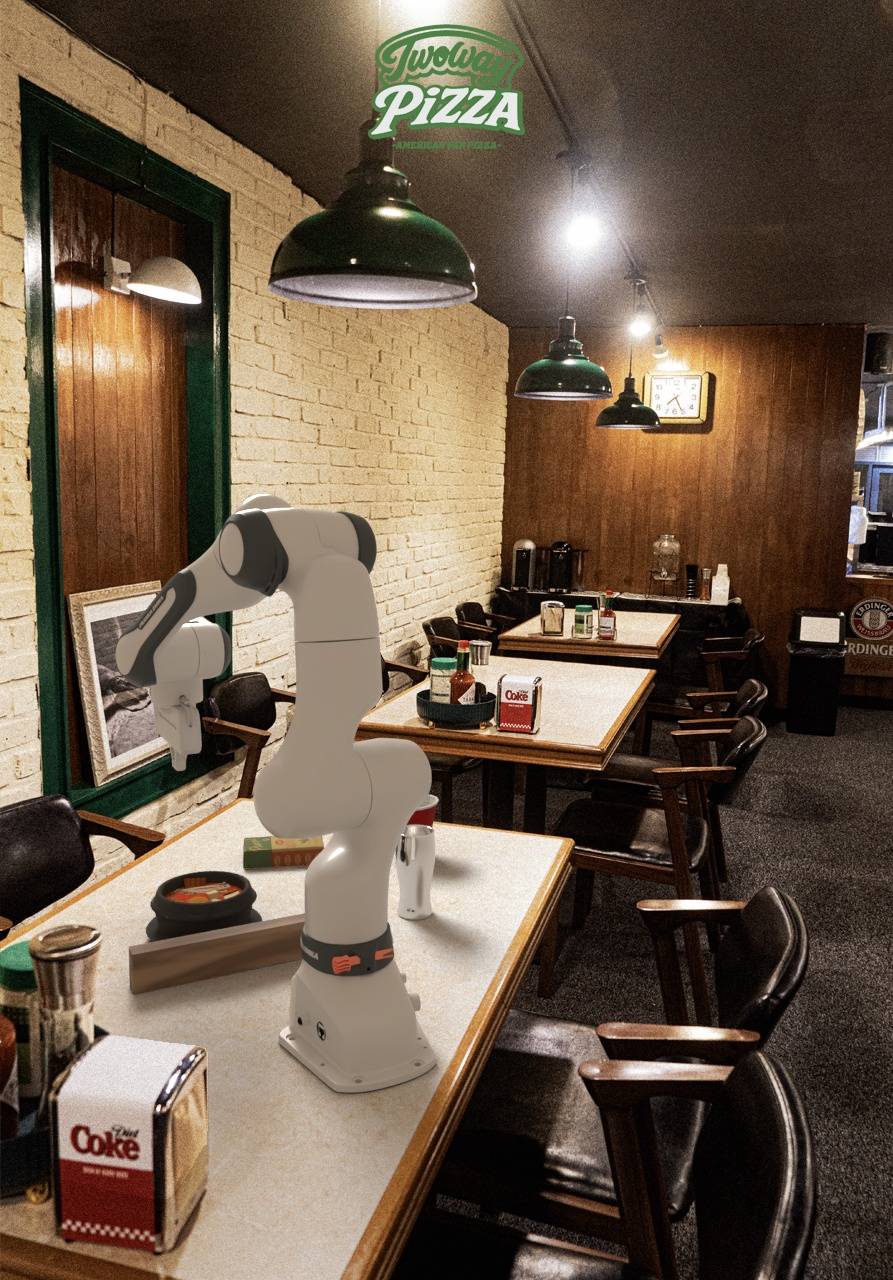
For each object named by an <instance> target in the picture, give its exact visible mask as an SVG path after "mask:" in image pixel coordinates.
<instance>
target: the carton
mask: <svg viewBox="0 0 893 1280" xmlns="http://www.w3.org/2000/svg"><path fill="white" fill-rule="evenodd" d="M323 840H324V839H323V836H319V837H316V838H302V839H281V838H277V837H275V836H273V835H271V836H255V837H253V836H252V837H243V847H242V849H243V851H242V853H243V854H242V867H243V869H244V868H245V870H246V868H250V869H264V868H280V867H281V868H282V867H301V866H309V865H310V864H311V862H312V861H313V860H314V859H315V858H316V857H317V856H318V855H319V854H320V853H321V852H322V850H323V849H324V848H325V845H324V844H325V843H324V841H323Z"/></svg>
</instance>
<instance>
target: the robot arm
mask: <svg viewBox="0 0 893 1280" xmlns="http://www.w3.org/2000/svg"><path fill="white" fill-rule="evenodd" d="M377 550H378V548H377V539H376V536H375V533H374V531H373V529H372V526H371V525H370V523H369V522H368V521H367V520H366V519H365V518H364V517H363V516H361V515H359V514H355V513H351V512H347V511H343V510H337V511H329V510H321V509H309V508H306V509H305V508H303V507H293V506H292V505H291V504H289V503H288V502H287V501H286V500H284V499H282V498H281V497H279V496H276V495H273V494H268V493H266V494H265V493H261V494H255V495H253V496H251V497H248V498H247V499H246V500H244V501H243V502H242V503H241V504H240V505H239V506H238V507H237V509H235V510H234V512H233V513H232V514H231V515H230V516H228V518H227V519H226V520H225V522H224V524H223V525H222V528H221V529H220V531H219V533H218V534H217V537H216V539H215V541H214V542H213V543H212V545H211V546H210V547H209V548H208V549H207V550H206V551H205V552H204V553H203V554H202V555H201V556H200V557H199V558H197V559H196V560H195V561H193V562H192V563H191V564H190V565H189V564H188V566H187V567H185V568H183V569H181V570H180V571H178V572H177V573H176V574H174V575H173V576H171V577H170V579H169V580H168V581H167V582H166V584H165V585H164V586H163V587H162V588H161V590H160V591H159V592H158V593H157V594H156V596H155V597H154V599H152V601H151V602H150V604H149V605H148V607H147V608H146V609H145V611H144V612H143V613H142V614H141V615H140V617H138V619H137V620H136V621H135V622H134V623H132V624H130V625H129V626H128V627H126V629H125V630H124V631H123V632H122V634H121V635H120V636H119V638H118V640H117V642H116V646H115V651H114V659H115V660H114V661H115V666H116V669H117V671H118V673H119V675H120V676H121V677H122V678H124V680H126V681H127V682H129V684H131V685H133V686H135V687H136V688H139V689H141V688H145V687H148V688H149V691H148V692H149V696H150V703H151V704H153V714H154V720H155V727H156V732H157V734H158V735H159V736H160V737H161V738H163V739H164V741H166V742H167V743H168V746H169V751H170V752H169V753H170V755H171V766H172V768H173V769H174V770H175V771H177V772H181V771H182V772H183V771H185V770H186V769H187V758H188V755H193V754H195V755H196V754H200V753H201V751H202V746H203V745H202V743H203V742H202V730H201V729H202V728H201V719H200V718H201V717H200V713H199V710H198V709H197V706H196V705H197V704H198V703H201V702H202V701H203V700H204V687H203V686H204V684H203V683H204V682H203V680H207V679H213V678H217V677H220V676H222V674H223V673H224V672H225V671H226V670H227V669H228V667H229V665H230V663H231V661H232V642H231V637H230V635H229V634H228V632H226V630H225V629H224V628H223V627H222V626H221V625H219V624H218V623H216V622H215V623H213V622H211V621H210V620H208V619H207V618H205V616H210V615H214V614H220V613H226V612H232V611H233V612H234V611H238V610H244V609H248V608H251V607H254V606H255V605H258V604H260V602H262V601H263V600H265V598H267V597H269V598H270V597H272V596H274V594H275V592H276V591H277V590H279V591H282V592H284V593H285V594H286V595H288V597H289V599H290V600H291V602H292V606H293V630H294V631H293V632H294V633H293V634H294V635H293V637H294V650H295V651H294V652H295V676H296V677H295V680H296V682H295V683H296V684H295V685H296V687H295V689H296V690H295V691H296V692H295V704H294V710H293V715H292V718H291V721H290V725H289V727H288V730H287V733H286V735H285V737H284V740H283V742H282V743H281V745H280V747H279V749H278V750H277V752H276V753H275V754H274V755H273V756H272V757H271V759H270V760H269V762H267V763H266V765H264V767H263V768H262V769H261V770H260V771H259V774H258V776H257V777H256V780H255V784H254V788H253V799H252V800H253V806H254V810H255V814H256V816H257V818H258V821H259V822H260V823H261V825H262V826H263V828H264V829H265V830H266V831H267V832H268V833H269V834H271V836H275V837H277V838H281V839H302V838H316V837H319V836H322V837H324V836H326V835H331V834H332V835H331V838H330V839H329V841H328V843H327V844H326V846H324V849H323V850H322V852H321V853H320V854H319V855H318V856H317V857H316V858H315V859H314V860H313V861H312V862H311V864H310V865H308V867H307V870H306V872H305V876H304V913H305V924H304V926H303V927H302V935H301V955H302V957H303V959H301V962H300V964H299V967H298V969H297V970H296V971H295V973H294V974H293V976H292V978H291V981H290V982H291V983H290V997H289V1014H288V1016H289V1017H288V1025H287V1026H284V1028H283V1029H282V1030H280V1032H279V1033H278V1044H280V1045H281V1046H282V1047H283V1048H284V1049H285V1050H286V1051H287V1052H289V1054H291V1055H292V1056H293V1057H294V1058H296V1060H298V1061H299V1062H300V1063H301V1064H303V1066H305V1067H306V1068H307V1069H309V1071H311V1072H312V1073H313V1074H314V1075H315V1076H316V1077H318V1078H319V1079H320V1080H321V1081H322V1082H324V1083H325V1084H326V1085H327V1086H328V1087H329V1088H330V1089H331V1090H333V1091H334V1092H338V1093H363V1092H371V1091H376V1090H380V1089H385V1088H389V1087H392V1086H396V1085H398V1084H402V1083H405V1082H408V1081H410V1080H413V1079H416V1078H418V1077H420V1076H422V1075H424V1074H425V1073H427V1072H429V1071H430V1070H431V1069H432V1068H433V1067H434V1066H436V1064H437V1060H436V1054H435V1052H434V1050H433V1048H432V1046H431V1044H430V1042H429V1039H428V1038H427V1037H426V1035H425V1033H424V1031H423V1029H422V1027H421V1025H420V1023H419V1021H418V1019H417V1016H416V1015H417V1014H416V1012H419V1011H420V1010H421V1005H422V1004H421V1003H422V1002H421V997H420V994H419V993H418V992H411V993H409V992H408V990H407V986H406V983H407V975H406V973H405V972H400V969H399V967H398V964H397V962H396V959H395V950H394V938H393V933H392V930H391V925H390V923H389V921H388V919H389V917H388V913H389V911H388V910H389V909H388V907H389V890H390V889H389V888H390V887H389V885H390V875H391V870H392V869H391V867H392V865H393V859H394V856H395V851H396V848H397V845H398V842H399V840H400V837H401V835H402V833H403V831H404V828H405V826H406V825H407V823H408V821H409V819H410V818H411V816H412V815H413V813H414V812H415V811H416V809H417V808H418V807H419V806H420V805H421V804H422V803H423V802H424V801H425V799H426V798H427V796H428V794H429V793H430V791H431V787H432V778H433V777H432V768H431V765H430V761H429V759H428V757H427V755H426V753H425V752H424V750H423V749H422V748H421V746H419V745H418V744H417V743H416V742H414V741H412V740H409V739H402V738H391V737H390V738H389V737H377V738H372V739H366V740H360V741H355V738H356V733H357V730H358V728H359V725H360V724H361V722H362V720H363V719H364V717H365V716H366V715H367V714H368V713H369V712H370V711H371V710H372V709H373V708H374V707H375V706H377V705H378V703H379V701H380V700H381V697H382V693H383V674H382V672H383V671H382V658H381V657H382V655H381V644H380V643H381V638H380V626H379V624H380V623H379V618H378V610H377V604H376V598H375V594H374V589H373V584H372V581H371V577H370V574H371V572H372V571H373V569H374V566H375V564H376V563H375V562H376V559H377V553H378V552H377ZM354 741H355V742H354ZM429 795H430V794H429Z"/></svg>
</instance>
